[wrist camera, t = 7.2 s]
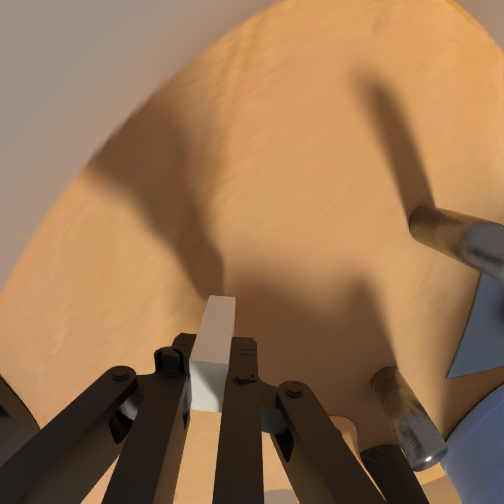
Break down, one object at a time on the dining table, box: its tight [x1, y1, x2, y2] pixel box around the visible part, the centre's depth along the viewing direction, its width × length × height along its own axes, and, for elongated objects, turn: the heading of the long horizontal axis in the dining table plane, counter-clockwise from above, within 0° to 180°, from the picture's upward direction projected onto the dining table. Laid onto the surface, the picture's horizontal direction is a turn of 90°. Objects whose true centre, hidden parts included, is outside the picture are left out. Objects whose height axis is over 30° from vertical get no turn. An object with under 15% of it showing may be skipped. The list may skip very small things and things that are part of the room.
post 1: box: [371, 367, 449, 472], centre depth 17 cm, size 3×3×9 cm
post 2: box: [409, 205, 504, 285], centre depth 14 cm, size 3×3×9 cm
